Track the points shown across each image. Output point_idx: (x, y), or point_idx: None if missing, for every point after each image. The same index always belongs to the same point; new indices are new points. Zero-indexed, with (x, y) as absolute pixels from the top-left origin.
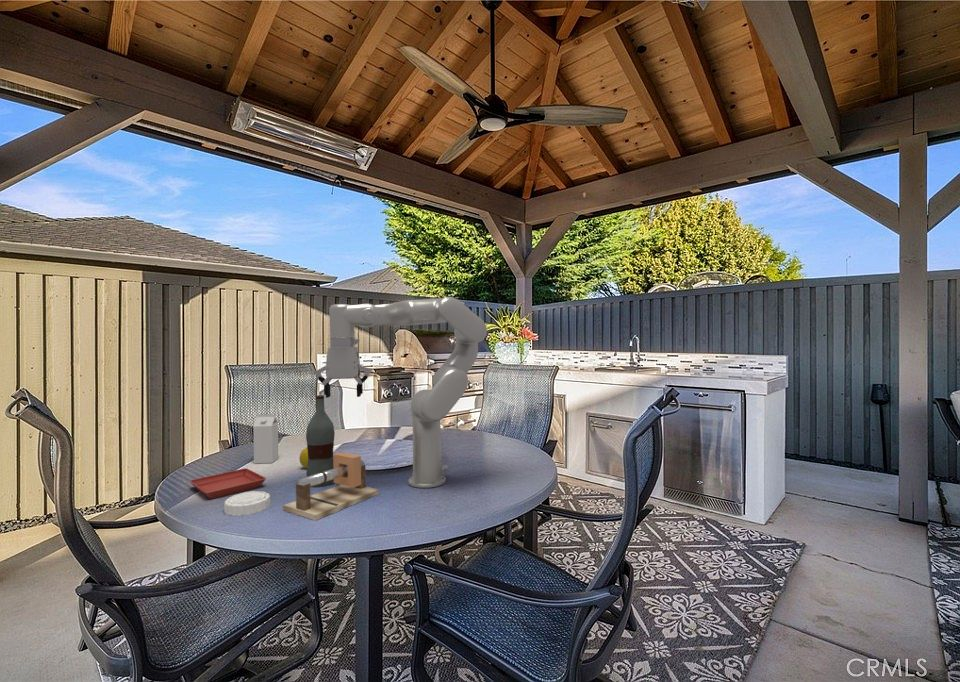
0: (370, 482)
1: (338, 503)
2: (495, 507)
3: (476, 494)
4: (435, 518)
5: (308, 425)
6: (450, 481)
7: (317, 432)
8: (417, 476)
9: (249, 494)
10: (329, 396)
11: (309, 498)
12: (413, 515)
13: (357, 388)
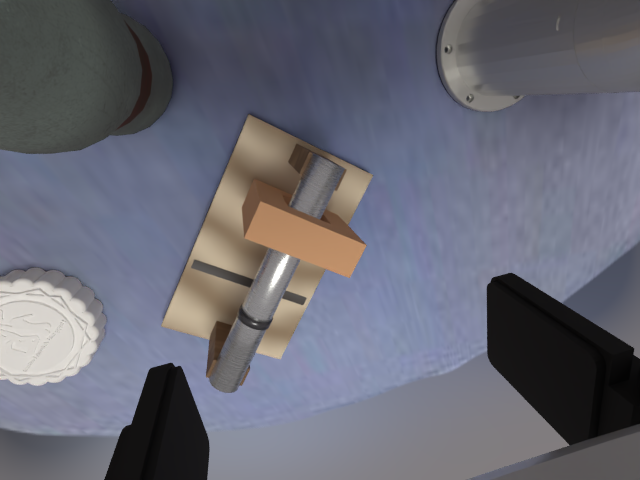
0: (308, 59)
1: (302, 290)
2: (629, 223)
3: (608, 146)
4: None
5: None
6: None
7: (63, 149)
8: (483, 88)
9: (16, 323)
10: (194, 402)
11: None
12: (473, 289)
13: (557, 424)
